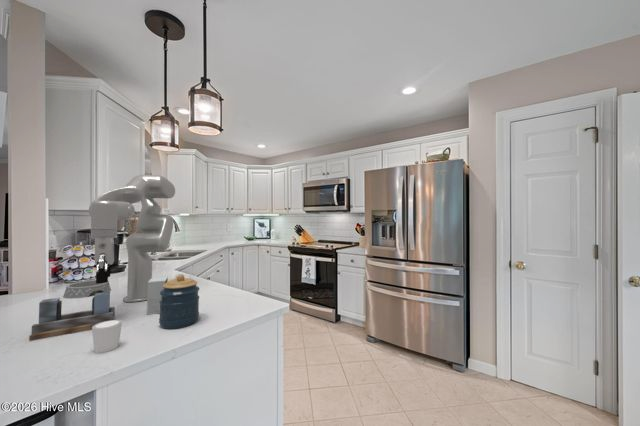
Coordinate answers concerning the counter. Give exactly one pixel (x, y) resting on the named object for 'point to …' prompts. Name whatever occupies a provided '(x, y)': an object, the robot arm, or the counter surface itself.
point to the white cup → (106, 335)
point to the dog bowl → (85, 289)
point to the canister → (179, 303)
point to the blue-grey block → (101, 303)
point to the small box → (155, 294)
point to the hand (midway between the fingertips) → (103, 279)
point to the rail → (64, 320)
